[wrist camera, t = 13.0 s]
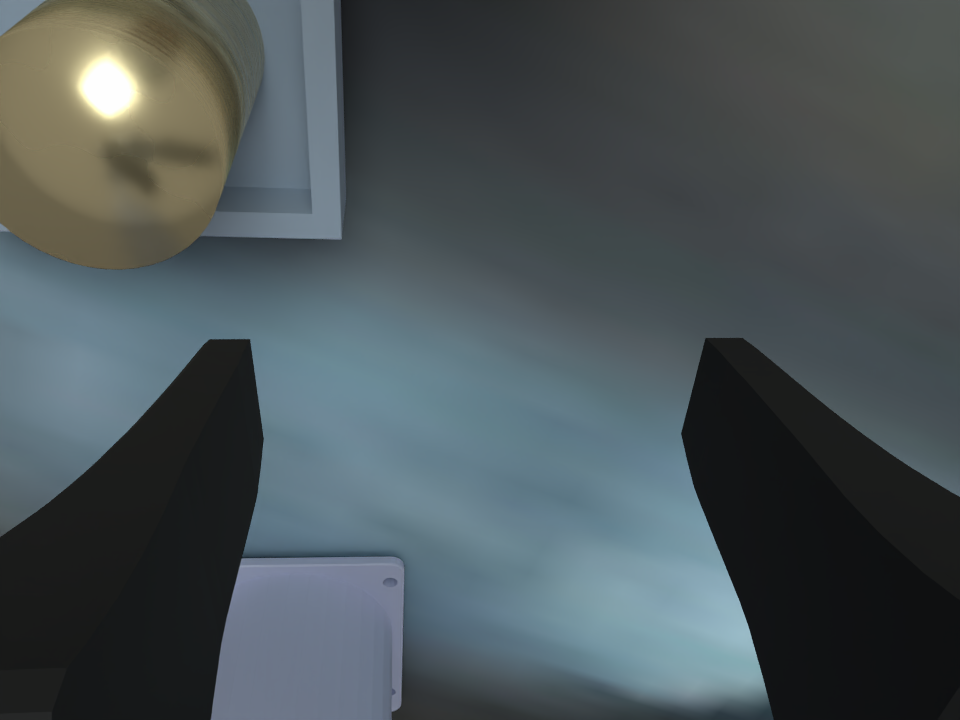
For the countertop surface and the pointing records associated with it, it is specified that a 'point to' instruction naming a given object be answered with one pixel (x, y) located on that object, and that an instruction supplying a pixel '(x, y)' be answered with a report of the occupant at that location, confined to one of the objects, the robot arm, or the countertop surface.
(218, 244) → the countertop surface
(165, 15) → the brass cylinder
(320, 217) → the grey square tray
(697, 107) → the countertop surface
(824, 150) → the countertop surface
